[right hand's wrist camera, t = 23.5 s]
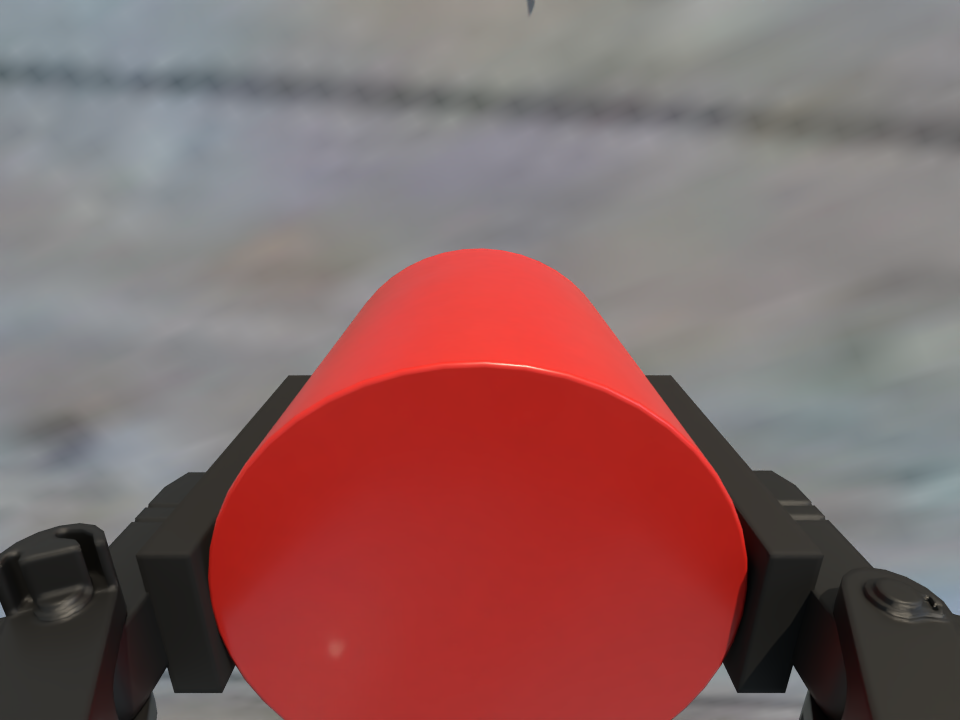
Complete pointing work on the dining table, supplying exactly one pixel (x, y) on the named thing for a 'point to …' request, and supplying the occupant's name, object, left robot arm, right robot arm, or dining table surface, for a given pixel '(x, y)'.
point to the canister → (478, 518)
